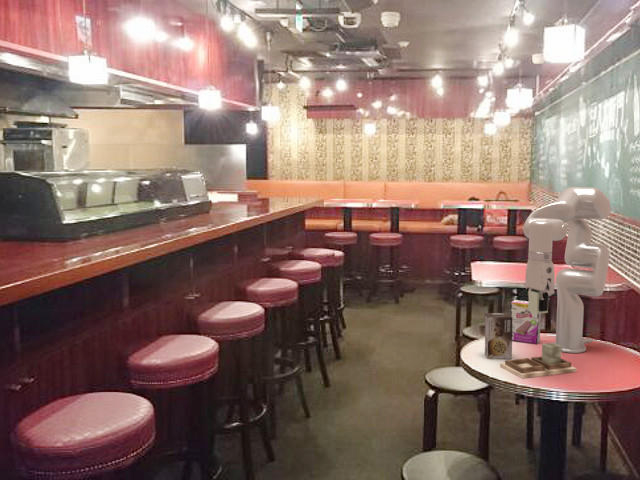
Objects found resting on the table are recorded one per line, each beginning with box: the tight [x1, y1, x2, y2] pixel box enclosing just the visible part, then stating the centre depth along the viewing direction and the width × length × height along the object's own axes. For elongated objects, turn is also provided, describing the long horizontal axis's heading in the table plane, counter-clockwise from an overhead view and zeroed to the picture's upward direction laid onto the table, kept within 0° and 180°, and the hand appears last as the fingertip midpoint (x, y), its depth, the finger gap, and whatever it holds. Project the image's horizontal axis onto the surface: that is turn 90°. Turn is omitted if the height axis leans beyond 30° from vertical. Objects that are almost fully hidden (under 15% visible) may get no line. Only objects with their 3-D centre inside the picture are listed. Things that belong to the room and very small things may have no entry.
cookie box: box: [484, 312, 513, 360], centre depth 230 cm, size 9×6×16 cm
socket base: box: [499, 342, 578, 379], centre depth 215 cm, size 22×13×8 cm, turn 107°
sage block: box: [528, 290, 549, 314], centre depth 210 cm, size 4×4×7 cm
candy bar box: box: [510, 299, 542, 345], centre depth 249 cm, size 11×5×16 cm, turn 59°
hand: (537, 308), depth 210 cm, fingers closed on sage block, 4 cm apart
